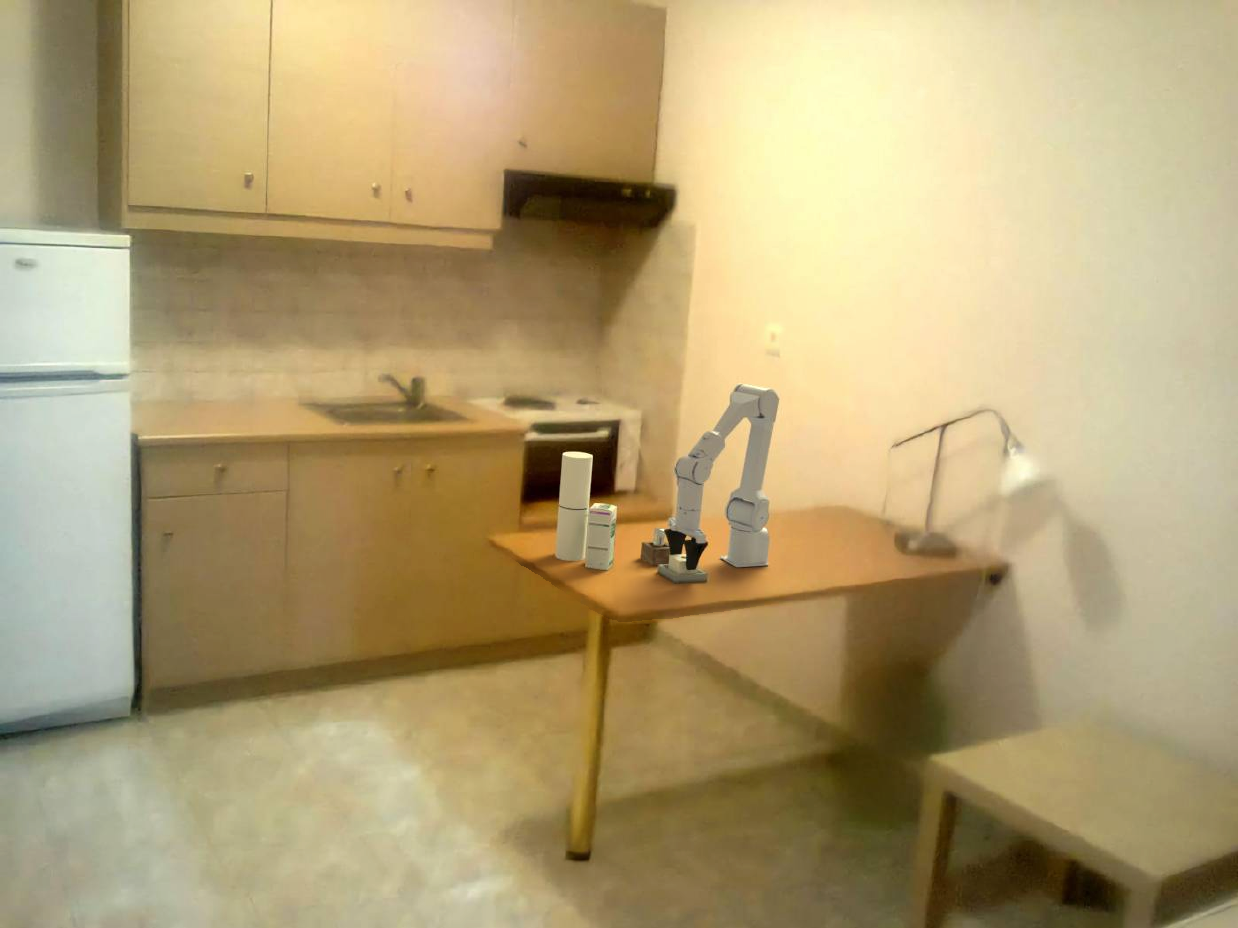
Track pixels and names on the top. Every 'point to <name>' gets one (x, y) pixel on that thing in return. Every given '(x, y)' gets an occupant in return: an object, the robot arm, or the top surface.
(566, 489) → the cylindrical container
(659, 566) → the tray
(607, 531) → the syrup box
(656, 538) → the cylinder
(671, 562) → the small block
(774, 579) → the top surface
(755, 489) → the robot arm
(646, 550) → the hollow square frame
